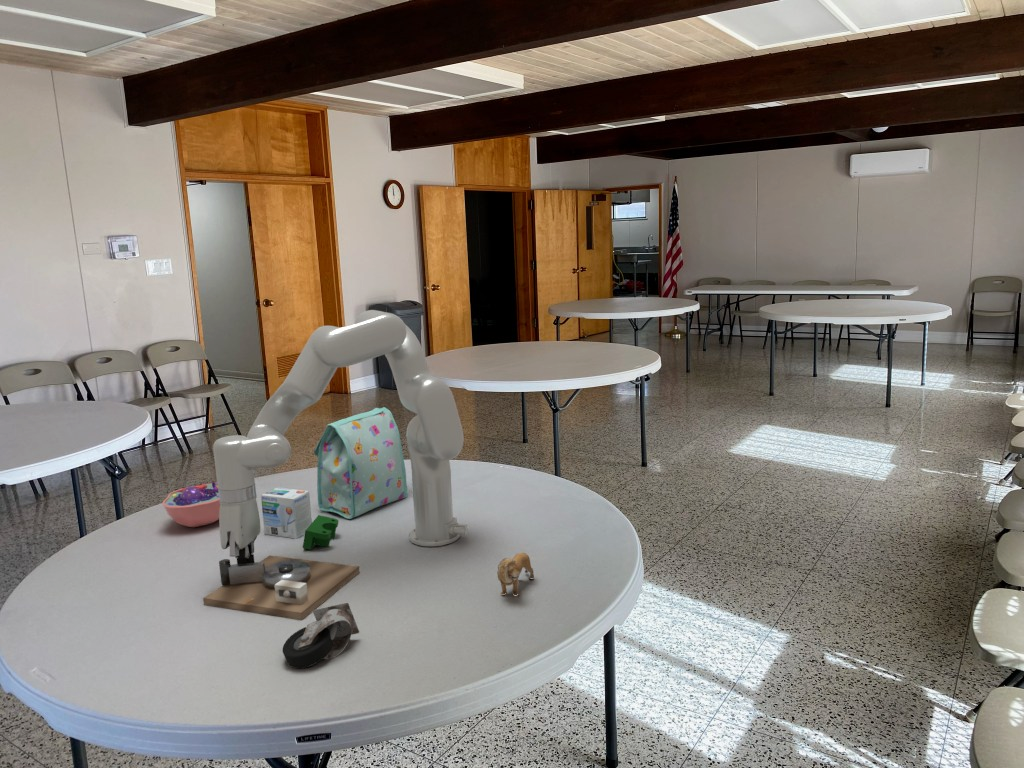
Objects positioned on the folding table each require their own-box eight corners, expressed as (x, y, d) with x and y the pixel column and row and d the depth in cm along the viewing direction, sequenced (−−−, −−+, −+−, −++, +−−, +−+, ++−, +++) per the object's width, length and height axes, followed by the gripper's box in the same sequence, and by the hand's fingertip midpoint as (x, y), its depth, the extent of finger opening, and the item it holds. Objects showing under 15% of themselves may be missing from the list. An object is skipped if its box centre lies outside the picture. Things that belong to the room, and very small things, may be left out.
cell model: (249, 510, 210) (245, 472, 208) (209, 538, 191) (204, 496, 189) (195, 508, 213) (190, 471, 211) (150, 535, 194) (144, 494, 192)
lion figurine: (518, 606, 149) (517, 564, 147) (493, 603, 150) (491, 561, 149) (537, 574, 163) (536, 536, 161) (514, 572, 164) (512, 534, 163)
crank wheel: (313, 566, 167) (311, 544, 166) (307, 586, 157) (305, 563, 156) (227, 574, 164) (224, 552, 163) (216, 595, 155) (213, 571, 154)
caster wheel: (285, 682, 130) (301, 643, 140) (348, 669, 129) (360, 630, 139) (271, 651, 128) (288, 613, 138) (335, 637, 127) (348, 600, 137)
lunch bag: (373, 488, 225) (367, 402, 220) (413, 497, 215) (407, 407, 210) (313, 512, 207) (304, 418, 202) (353, 523, 197) (345, 425, 192)
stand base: (359, 572, 167) (357, 551, 166) (301, 620, 146) (299, 596, 145) (270, 561, 175) (268, 541, 174) (203, 605, 154) (200, 582, 153)
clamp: (324, 563, 182) (325, 540, 178) (302, 559, 182) (303, 535, 178) (339, 531, 191) (340, 508, 187) (318, 526, 192) (318, 503, 187)
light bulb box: (263, 534, 192) (259, 494, 190) (280, 525, 198) (276, 486, 196) (297, 539, 188) (293, 498, 186) (313, 529, 194) (310, 490, 192)
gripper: (236, 482, 167) (246, 558, 171) (203, 505, 152) (214, 588, 156) (268, 481, 166) (277, 558, 170) (238, 505, 152) (248, 588, 155)
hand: (247, 572), depth 163 cm, fingers closed
